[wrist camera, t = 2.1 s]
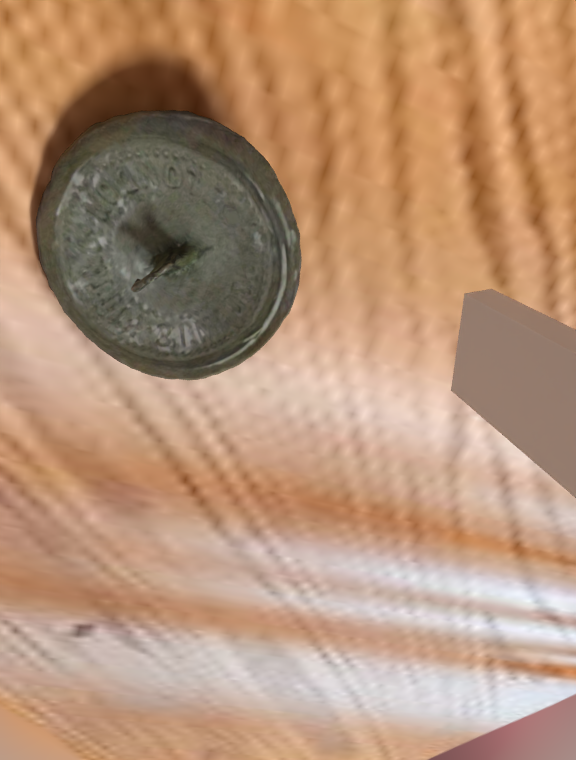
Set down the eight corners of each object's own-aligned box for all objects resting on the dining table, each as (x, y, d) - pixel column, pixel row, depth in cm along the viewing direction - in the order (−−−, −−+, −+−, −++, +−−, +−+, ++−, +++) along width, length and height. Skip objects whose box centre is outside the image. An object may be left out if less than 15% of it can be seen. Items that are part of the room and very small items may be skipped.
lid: (259, 359, 25) (284, 410, 20) (46, 352, 22) (25, 411, 17) (294, 132, 20) (336, 139, 16) (28, 81, 17) (-7, 72, 13)
